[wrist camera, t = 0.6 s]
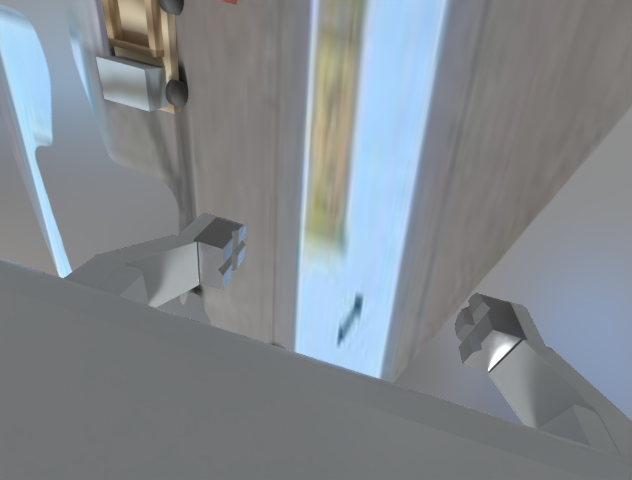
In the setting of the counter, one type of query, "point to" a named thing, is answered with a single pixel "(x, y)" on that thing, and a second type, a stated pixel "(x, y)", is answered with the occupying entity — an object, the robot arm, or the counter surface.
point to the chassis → (142, 55)
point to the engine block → (230, 1)
